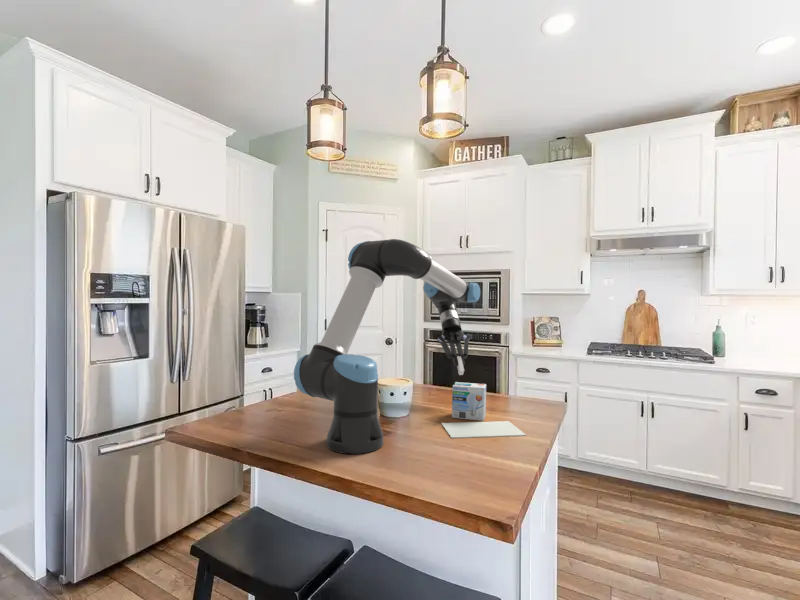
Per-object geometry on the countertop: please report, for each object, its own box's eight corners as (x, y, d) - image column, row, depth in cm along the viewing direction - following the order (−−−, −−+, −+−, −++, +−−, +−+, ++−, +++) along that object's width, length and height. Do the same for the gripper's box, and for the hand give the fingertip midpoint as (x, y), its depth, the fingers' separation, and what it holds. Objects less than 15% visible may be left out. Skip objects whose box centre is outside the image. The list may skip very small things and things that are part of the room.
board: (451, 438, 117) (451, 437, 117) (441, 424, 130) (441, 423, 130) (525, 435, 120) (525, 434, 120) (508, 422, 133) (508, 421, 133)
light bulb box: (451, 418, 137) (451, 385, 136) (454, 412, 143) (455, 381, 143) (484, 421, 133) (484, 387, 133) (486, 415, 140) (486, 383, 140)
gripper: (464, 329, 171) (476, 378, 154) (433, 329, 169) (442, 379, 153) (468, 317, 165) (481, 366, 149) (436, 317, 164) (445, 367, 147)
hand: (461, 372), depth 151 cm, fingers closed
